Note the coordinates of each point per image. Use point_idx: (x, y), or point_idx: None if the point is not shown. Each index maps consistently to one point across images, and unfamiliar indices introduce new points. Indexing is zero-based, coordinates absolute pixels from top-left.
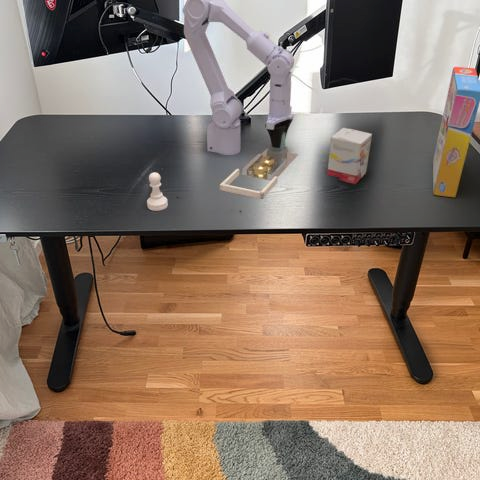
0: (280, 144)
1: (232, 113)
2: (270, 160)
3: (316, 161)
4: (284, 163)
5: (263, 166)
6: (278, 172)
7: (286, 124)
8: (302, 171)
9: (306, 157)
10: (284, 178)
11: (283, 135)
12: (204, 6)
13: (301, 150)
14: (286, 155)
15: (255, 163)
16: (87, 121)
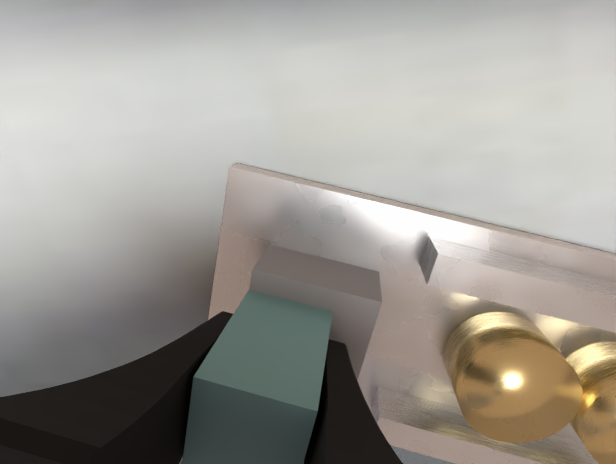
0: (329, 351)
1: None
2: (537, 373)
3: (271, 8)
4: (473, 253)
5: None
6: (590, 276)
7: (132, 453)
8: (476, 101)
9: (220, 101)
10: (609, 220)
11: (262, 381)
12: None
13: (116, 152)
14: (281, 248)
15: None
16: None
